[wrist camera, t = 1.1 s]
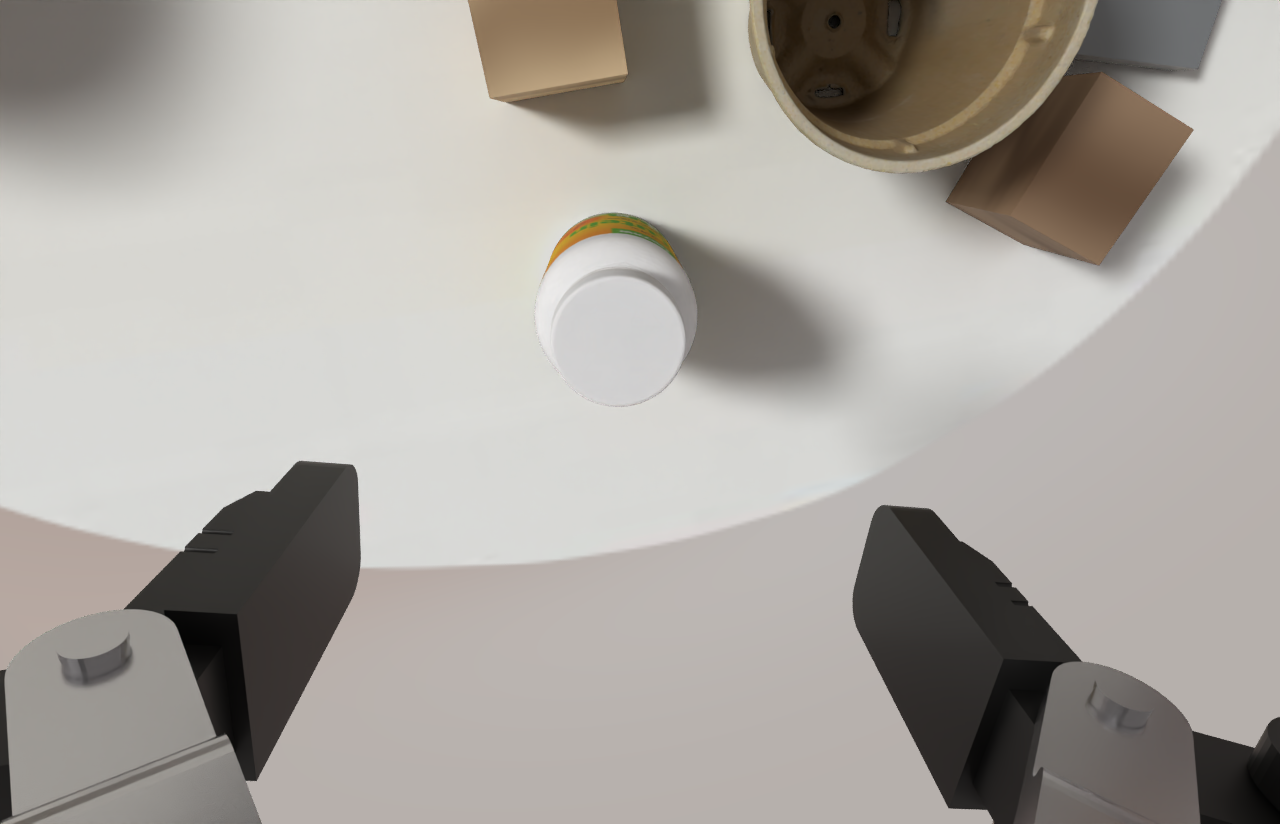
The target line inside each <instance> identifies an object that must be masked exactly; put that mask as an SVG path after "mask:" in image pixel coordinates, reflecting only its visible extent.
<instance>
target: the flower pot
mask: <svg viewBox="0 0 1280 824" xmlns="http://www.w3.org/2000/svg"><path fill="white" fill-rule="evenodd" d="M749 1H750V12H749V21H748V33H749V43H750V48H751V52H752V56H753V59H754V63H755V66H756V68H757V70H758V72H759V74H760V76H761V77H762V79H763V80H764V82H765V83H766V85H767V86H768V87H769V89H770V90H771V91H772V93H773V95H774V97H775V99H776V100H777V102H778V104H779V105H780V107H781V108H782V110H783V112H784V113H785V114H786V115H787V117H788V118H789V119H790V121H791V122H792V123H793V124H794V125H795V127H796V128H797V129H798V130H799V131H800V132H801V133H802V134H803V135H805V136H806V137H807V138H808V139H809V140H810V141H812V142H813V143H814V144H815V145H817V146H818V147H820V148H821V149H823V150H824V151H826V152H828V153H829V154H831V155H833V156H835V157H837V158H839V159H841V160H843V161H845V162H847V163H850V164H853V165H855V166H859V167H862V168H865V169H870V170H874V171H879V172H888V173H900V174H903V173H915V172H924V171H929V170H936V169H939V168H942V167H947V166H951V165H954V164H956V163H959V162H962V161H964V160H967V159H970V158H972V157H974V156H976V155H978V154H980V153H982V152H983V151H985V150H987V149H989V148H991V147H992V146H993V145H994V144H997V143H998V142H999V141H1002V140H1003V139H1004V138H1005V137H1007V136H1008V135H1009V134H1011V133H1012V132H1013V131H1014V130H1016V129H1017V128H1018V127H1020V125H1021V124H1022V123H1023V122H1024V121H1025V120H1027V119H1028V118H1029V117H1030V116H1031V115H1032V114H1033V113H1035V111H1036V110H1037V109H1038V108H1039V107H1040V106H1041V105H1042V104H1043V103H1044V101H1045V100H1046V99H1047V97H1048V96H1049V95H1050V94H1051V92H1052V91H1053V90H1054V88H1055V87H1056V86H1057V85H1058V84H1059V82H1060V81H1061V79H1062V77H1063V76H1064V74H1065V73H1066V71H1067V70H1068V68H1069V66H1070V65H1071V63H1072V61H1073V59H1074V58H1075V56H1076V54H1077V52H1078V51H1079V49H1080V47H1081V45H1082V43H1083V40H1084V38H1085V36H1086V34H1087V31H1088V29H1089V26H1090V22H1091V20H1092V18H1093V16H1094V11H1095V8H1096V5H1097V3H1098V0H899V2H900V4H901V8H902V11H901V16H900V21H899V23H898V25H899V30H898V32H897V34H896V36H889V35H888V30H887V29H888V15H889V6H888V3H889V2H890V1H892V0H749ZM767 10H768V11H770V13H771V14H770V34H771V41H770V36H769V30H768V23H767ZM833 15H836V16H838V17H839V18H840V24H839V26H838V27H836V28H832V27H830V26H829V24H828V20H829V19H830V17H832V16H833ZM829 85H831V86H830V87H831V88H842V89H843V95H839V96H833V97H819V96H818V95H817V94H816V93H815V91H816V90H817V89H818V90H821V89H826V88H828V86H829Z"/></svg>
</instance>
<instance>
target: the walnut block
mask: <svg viewBox="0 0 1280 824" xmlns="http://www.w3.org/2000/svg"><path fill="white" fill-rule="evenodd" d="M1192 132H1193V129H1192V128H1190V127H1189V126H1187V125H1186V124H1184V123H1182V122H1181V121H1179V120H1178V119H1176V118H1174V117H1173V116H1171V115H1170V114H1168V113H1166V112H1165V111H1163V110H1162V109H1160V108H1159V107H1157V106H1155V105H1154V104H1152V103H1151V102H1149V101H1147V100H1146V99H1144V98H1143V97H1141V96H1140V95H1138V94H1136V93H1135V92H1133V91H1132V90H1130V89H1128V88H1127V87H1125V86H1124V85H1122V84H1120V83H1119V82H1117V81H1116V80H1114V79H1113V78H1111V77H1109V76H1108V75H1106V74H1105V73H1103V72H1096V73H1087V74H1078V75H1069V76H1063V77H1062V79H1061V81H1060V82H1059V84H1058V85H1057V86H1056V87H1055V88H1054V90H1053V91H1052V92H1051V94H1050V95H1049V96H1048V97H1047V99H1046V100H1045V101H1044V103H1043V104H1042V105H1041V106H1040V107H1039V108H1038V109H1037V110H1036V111H1035V113H1033V114H1032V115H1031V116H1030V117H1029V118H1028V119H1027V120H1025V121H1024V122H1023V123H1022V124H1021V125H1020V127H1018V128H1017V129H1016V130H1014V131H1013V132H1012V133H1011V134H1009V135H1008V136H1007V137H1005V138H1004V139H1003V140H1002V141H999V142H998V143H997V144H994V145H993V146H992V147H991V148H989V149H987V150H985V151H983V152H982V153H980V154H978V155H976V156H974V157H973V158H972V159H971V161H970V163H969V164H968V166H967V168H966V169H965V171H964V173H963V174H962V176H961V178H960V179H959V181H958V183H957V184H956V186H955V188H954V189H953V191H952V192H951V194H950V196H949V197H948V199H947V201H946V202H947V203H949V204H951V205H953V206H954V207H956V208H958V209H960V210H962V211H963V212H965V213H967V214H969V215H971V216H973V217H974V218H976V219H978V220H980V221H982V222H983V223H985V224H987V225H989V226H991V227H993V228H994V229H996V230H998V231H1000V232H1002V233H1003V234H1005V235H1007V236H1009V237H1011V238H1013V239H1014V240H1016V241H1018V242H1020V243H1022V244H1024V245H1027V246H1031V247H1034V248H1038V249H1042V250H1045V251H1049V252H1052V253H1056V254H1060V255H1063V256H1067V257H1070V258H1074V259H1078V260H1081V261H1085V262H1088V263H1092V264H1096V265H1100V263H1101V262H1102V261H1103V259H1104V258H1105V256H1106V255H1107V253H1108V252H1109V250H1110V249H1111V248H1112V246H1113V245H1114V243H1115V242H1116V240H1117V239H1118V238H1119V236H1120V235H1121V233H1122V232H1123V230H1124V229H1125V228H1126V226H1127V225H1128V223H1129V222H1130V220H1131V219H1132V218H1133V216H1134V215H1135V213H1136V212H1137V210H1138V209H1139V207H1140V206H1141V205H1142V203H1143V202H1144V200H1145V199H1146V197H1147V196H1148V195H1149V193H1150V192H1151V190H1152V189H1153V187H1154V186H1155V185H1156V183H1157V182H1158V180H1159V179H1160V177H1161V176H1162V175H1163V173H1164V172H1165V170H1166V169H1167V167H1168V166H1169V164H1170V163H1171V162H1172V160H1173V159H1174V157H1175V156H1176V154H1177V153H1178V152H1179V150H1180V149H1181V147H1182V146H1183V144H1184V143H1185V142H1186V140H1187V139H1188V137H1189V136H1190V134H1191V133H1192Z"/></svg>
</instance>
